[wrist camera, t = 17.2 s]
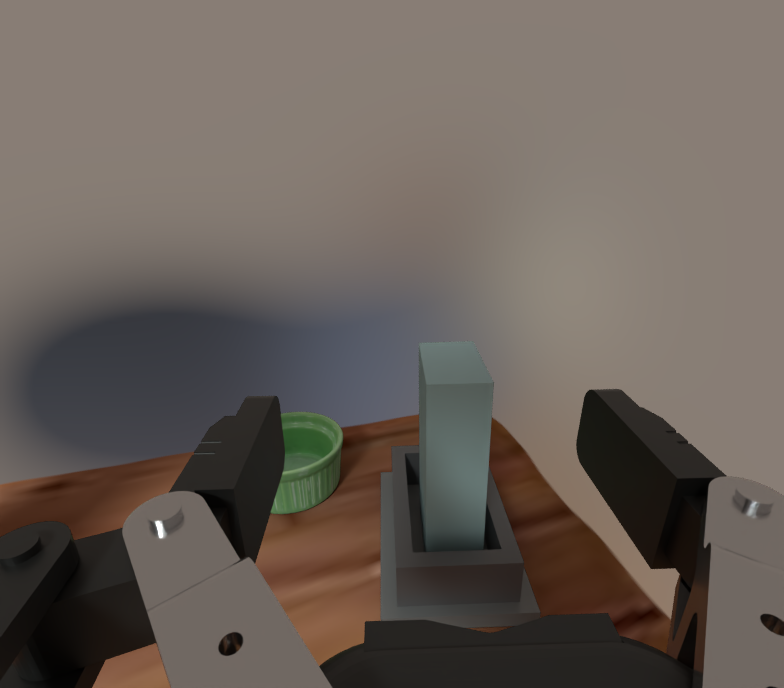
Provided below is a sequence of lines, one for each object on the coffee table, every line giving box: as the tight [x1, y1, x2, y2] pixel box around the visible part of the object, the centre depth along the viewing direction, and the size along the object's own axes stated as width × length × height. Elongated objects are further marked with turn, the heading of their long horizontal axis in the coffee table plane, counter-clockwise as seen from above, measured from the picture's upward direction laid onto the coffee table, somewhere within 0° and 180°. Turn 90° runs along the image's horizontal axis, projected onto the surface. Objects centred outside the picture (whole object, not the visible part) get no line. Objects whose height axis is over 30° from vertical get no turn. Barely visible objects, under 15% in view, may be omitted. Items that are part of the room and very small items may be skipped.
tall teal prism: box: [419, 341, 494, 552], centre depth 28 cm, size 4×6×13 cm, turn 1°
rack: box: [381, 445, 540, 628], centre depth 31 cm, size 9×13×4 cm
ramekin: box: [271, 412, 343, 514], centre depth 37 cm, size 9×9×4 cm
